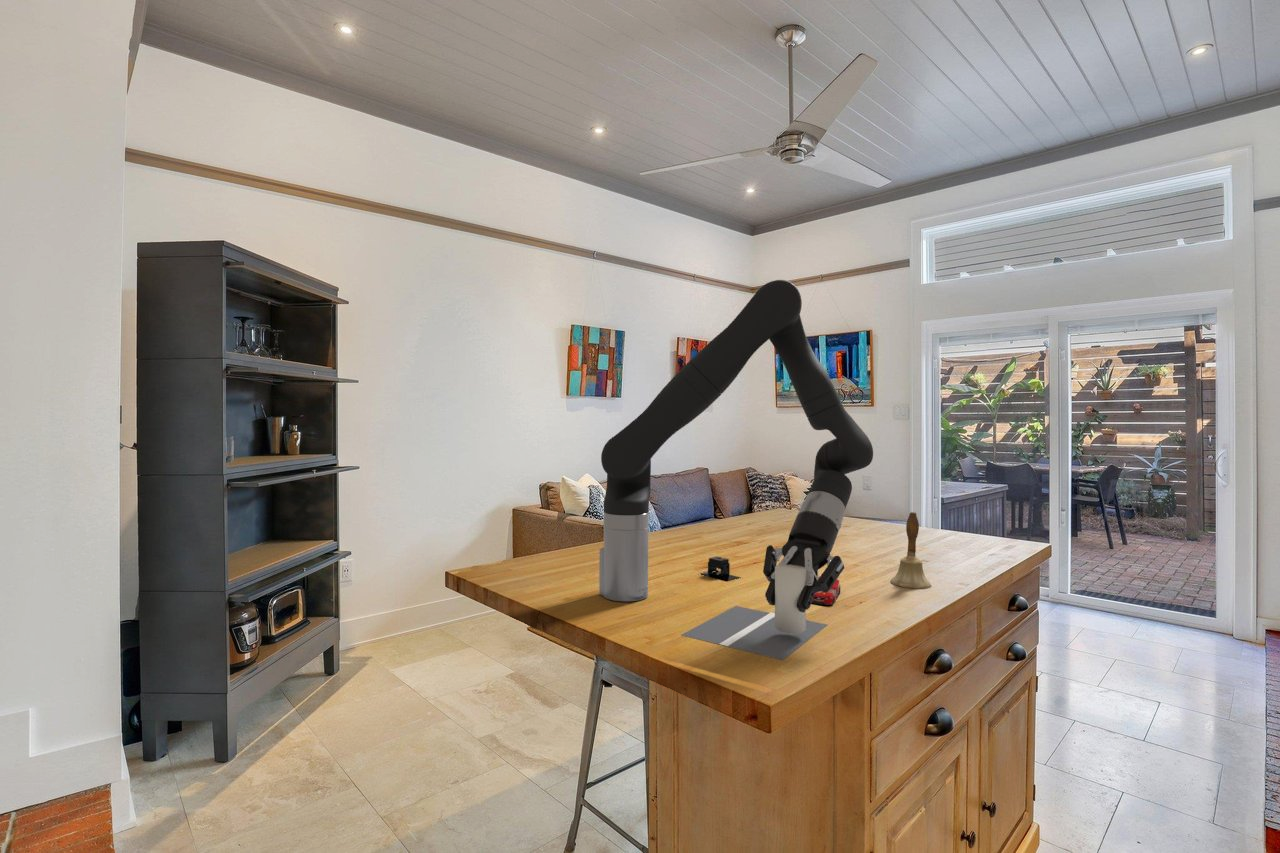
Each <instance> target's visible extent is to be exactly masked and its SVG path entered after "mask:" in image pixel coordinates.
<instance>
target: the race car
mask: <svg viewBox="0 0 1280 853" xmlns="http://www.w3.org/2000/svg"><path fill="white" fill-rule="evenodd" d="M819 578H820V576H818V579H819ZM840 595H841V584H840V580H839V579H838V578H837V580H836V581H835V582H834V584H833V585H832V587H831V588H830V590H829V591H828V592H827V593H824V592H822V591H820V592H817V593H816V594H815V595H814V597H813V600H812V603H811V604H814V605H815V604H816V605H823V606H825V605H826V606H828V605H829V606H834V605H835V602H836V601H837V599H838V597H839V596H840Z"/></svg>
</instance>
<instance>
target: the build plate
mask: <svg viewBox="0 0 1280 853" xmlns="http://www.w3.org/2000/svg"><path fill="white" fill-rule="evenodd" d="M729 560H730V559H729V558H726V557H721V556H712V557H709V558H708V562H707V570H706V571H707V572H706V571H703V573H702V572H699V573H700V574H701V575H700V576H703V575H704V576H703V577H706V576H707V578H711V579H714V578H715V580H719V581H722V582H732V581H735V579H736V580H739V578H740V579H742V578H741V577H742V576H741V577H740V576H737V575H735V574H734V575H732V574H730V572H731V571H730V570H731V568H730V565H731V564H730V562H729Z"/></svg>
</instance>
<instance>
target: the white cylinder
mask: <svg viewBox="0 0 1280 853" xmlns="http://www.w3.org/2000/svg"><path fill="white" fill-rule="evenodd" d="M804 586H806V568H805V567H803V566H799V565H791V564H786V565H785V564H783V565H778V564H776V566H775V605H774V613H775V629H777V630H778V631H781V632H785V633H802V632H804V631H805V630H806V620H807V609H806V610H805V612H800V611H799V610H798V608H797V601H798V599H799V596H800V594H801V591H802V589H803V588H804Z"/></svg>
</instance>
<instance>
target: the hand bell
mask: <svg viewBox="0 0 1280 853" xmlns="http://www.w3.org/2000/svg"><path fill="white" fill-rule="evenodd" d="M905 526H906V528H905V531H906V536H907V540H908V541H907V542H908V543H907V552H906V556H904V557H902V558H900V560H899V566H898V571H897V572H896V574H895V575H894V576H893V577H892V578H891V579H890V583H892V584H893V585H894V586H895V585H896V586H898V587H902V588H908V589H909V588H910V589H918V590H919V589H920V588H923V589H929V588H931V587H932V583H931V582H930V581H929V580H928V578H927V577H926V575H925V573H924V569H923V561H922V560H921V559H920V558H918V557H917V556H916V552H917V550H916V549H917V548H916V547H917V546H916V544H917V538H918V535H919V531H920V530H919V529H920V523H919V520H918V516H917V512H914V511H913V512H912V511H911V512H909V516H908V518H907V520H906V525H905Z"/></svg>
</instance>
